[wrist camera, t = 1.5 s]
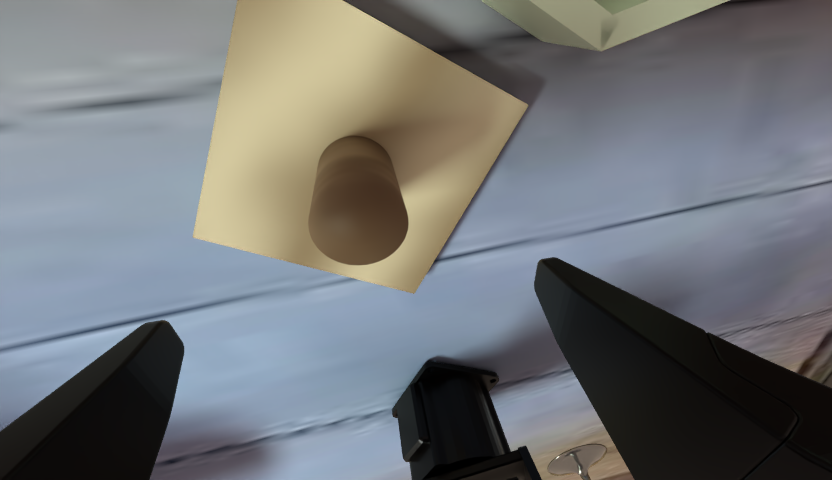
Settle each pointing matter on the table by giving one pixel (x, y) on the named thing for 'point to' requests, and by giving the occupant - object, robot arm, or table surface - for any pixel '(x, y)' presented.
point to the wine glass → (577, 460)
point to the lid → (345, 143)
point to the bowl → (595, 18)
